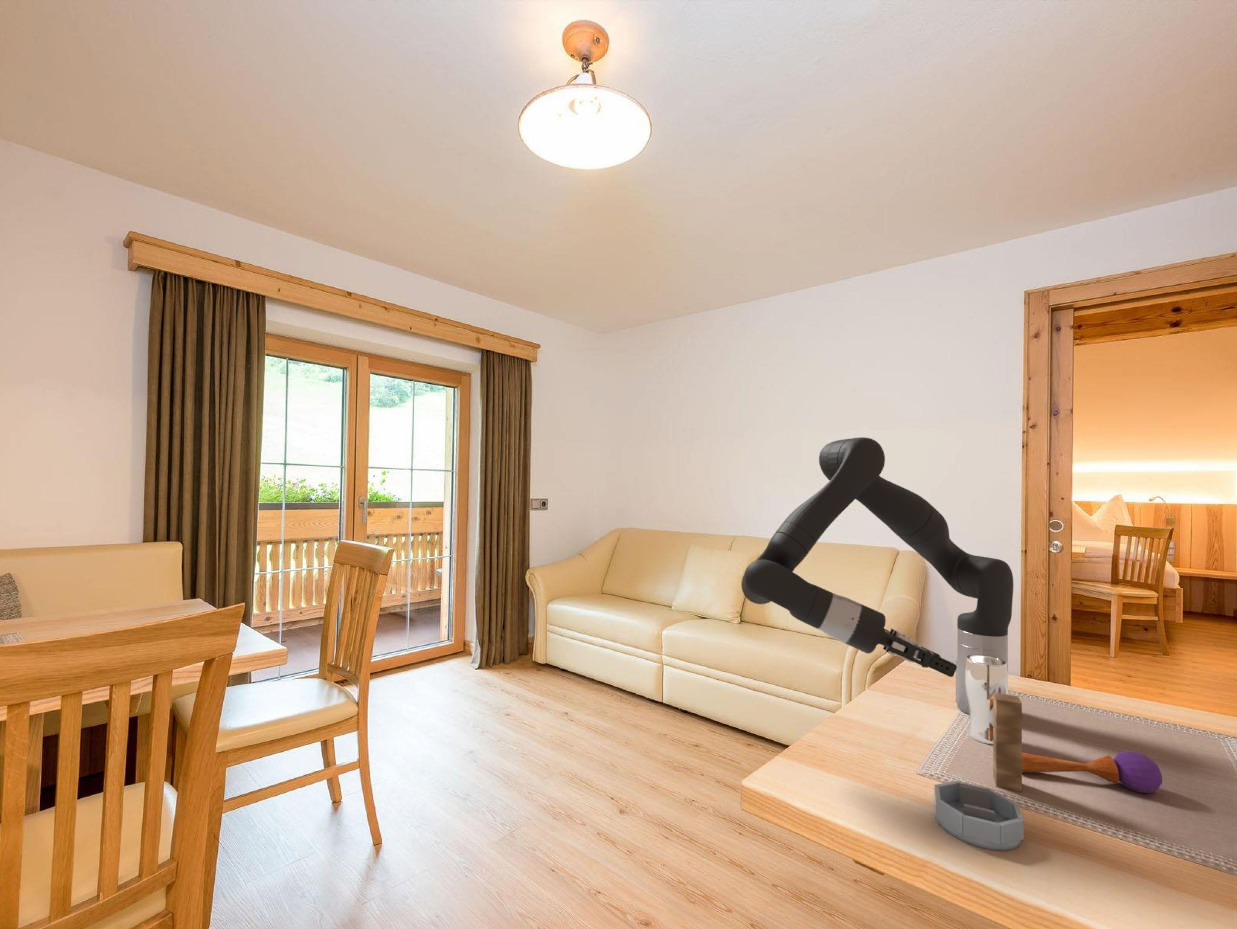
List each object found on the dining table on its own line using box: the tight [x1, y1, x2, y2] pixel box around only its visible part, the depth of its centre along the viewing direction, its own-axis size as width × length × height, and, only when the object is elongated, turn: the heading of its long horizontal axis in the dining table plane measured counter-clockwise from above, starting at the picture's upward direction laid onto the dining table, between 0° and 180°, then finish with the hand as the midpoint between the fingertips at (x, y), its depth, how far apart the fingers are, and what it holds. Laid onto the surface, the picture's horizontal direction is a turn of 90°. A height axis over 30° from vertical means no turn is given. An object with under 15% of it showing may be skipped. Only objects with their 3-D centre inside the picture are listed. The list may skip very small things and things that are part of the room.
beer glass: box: [965, 655, 1009, 745], centre depth 109 cm, size 7×7×15 cm
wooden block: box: [992, 692, 1023, 793], centre depth 92 cm, size 3×3×14 cm
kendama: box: [1022, 750, 1163, 794], centre depth 93 cm, size 6×6×20 cm
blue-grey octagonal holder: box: [933, 780, 1025, 852], centre depth 80 cm, size 10×10×4 cm
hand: (946, 666), depth 95 cm, fingers open, 8 cm apart
